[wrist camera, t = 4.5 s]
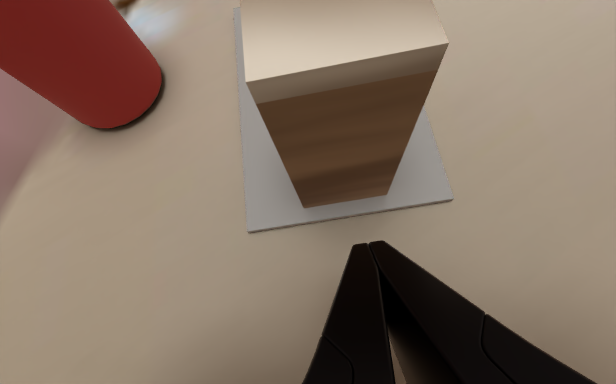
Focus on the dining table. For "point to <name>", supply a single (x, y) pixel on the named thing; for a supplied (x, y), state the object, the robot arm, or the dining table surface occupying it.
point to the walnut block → (340, 87)
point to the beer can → (79, 58)
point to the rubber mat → (289, 211)
